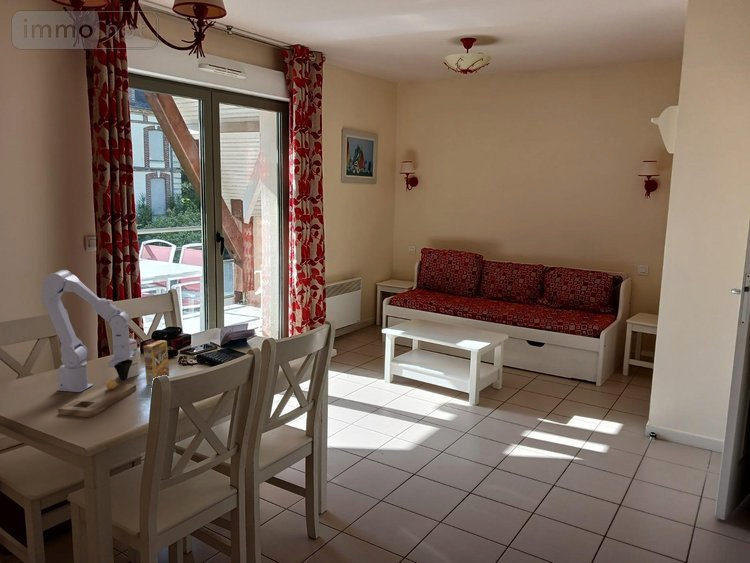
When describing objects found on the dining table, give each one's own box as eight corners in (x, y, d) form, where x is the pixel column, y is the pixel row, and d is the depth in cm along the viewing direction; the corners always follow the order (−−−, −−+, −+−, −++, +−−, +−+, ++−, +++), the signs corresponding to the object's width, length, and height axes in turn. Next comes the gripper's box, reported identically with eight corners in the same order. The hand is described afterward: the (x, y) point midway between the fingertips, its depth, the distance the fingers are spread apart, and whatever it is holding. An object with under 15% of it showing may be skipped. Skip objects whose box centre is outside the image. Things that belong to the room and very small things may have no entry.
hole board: (58, 414, 194) (57, 408, 194) (106, 387, 220) (106, 382, 219) (91, 417, 192) (90, 411, 192) (136, 389, 218) (136, 384, 217)
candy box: (155, 385, 222) (152, 346, 219) (145, 384, 223) (142, 345, 221) (170, 378, 230) (167, 340, 228) (161, 377, 232) (158, 339, 229)
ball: (104, 390, 211) (103, 381, 210) (110, 387, 214) (109, 377, 214) (112, 391, 210) (112, 381, 210) (118, 387, 214) (118, 378, 213)
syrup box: (139, 374, 234) (137, 339, 232) (126, 378, 229) (124, 343, 227) (130, 372, 237) (128, 337, 235) (117, 376, 232) (115, 340, 230)
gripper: (119, 350, 210) (121, 387, 212) (142, 340, 224) (144, 374, 226) (101, 349, 211) (104, 385, 213) (125, 339, 225) (127, 373, 227)
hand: (123, 379), depth 220 cm, fingers closed
